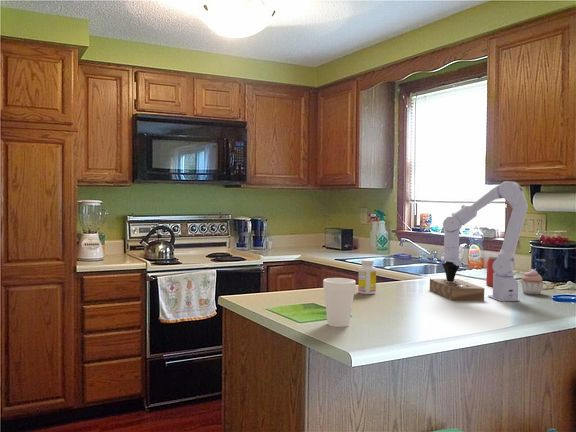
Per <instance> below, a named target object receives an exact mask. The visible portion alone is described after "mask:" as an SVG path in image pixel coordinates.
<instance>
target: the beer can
mask: <svg viewBox="0 0 576 432" xmlns="http://www.w3.org/2000/svg"><path fill="white" fill-rule="evenodd" d="M497 257H498V256H496V257H492V256H491V257H489V256H488V259H487V262H486V284H485V285H486V286H488V287H492V288H493V275H494V274H493V273H495V272H494V270H493V267H492V266H493V262H494V261H495V260H496V259H497Z"/></svg>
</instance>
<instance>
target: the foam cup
mask: <svg viewBox="0 0 576 432" xmlns="http://www.w3.org/2000/svg"><path fill="white" fill-rule="evenodd" d="M322 281H323V283H322V284H323V285H322V287H323V292H324V293H323V294H324V301H325V311H326V320H327V321H326V322H327V325H328V326H331V327H336V328H345V327H348V326H350V322H351V317H352V310H353V308H352V307H353V302H354V296H355V291H356V289H357V288H356V283H357V282H356V280H355V279H350V278H346V277H345V278H344V277H328V278H324V279H323V280H322Z"/></svg>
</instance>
